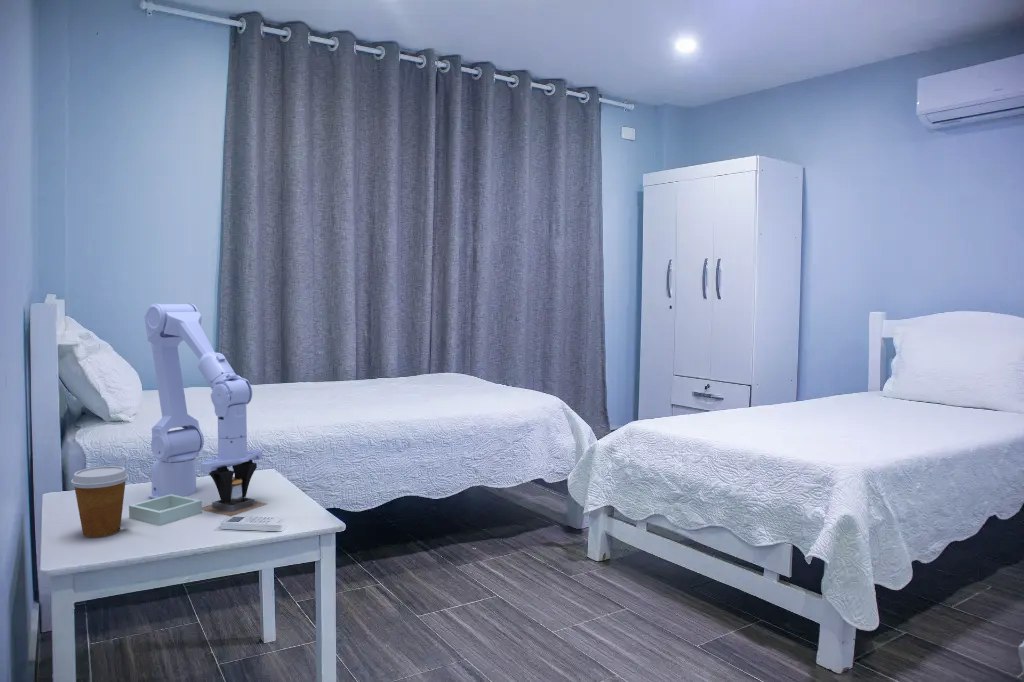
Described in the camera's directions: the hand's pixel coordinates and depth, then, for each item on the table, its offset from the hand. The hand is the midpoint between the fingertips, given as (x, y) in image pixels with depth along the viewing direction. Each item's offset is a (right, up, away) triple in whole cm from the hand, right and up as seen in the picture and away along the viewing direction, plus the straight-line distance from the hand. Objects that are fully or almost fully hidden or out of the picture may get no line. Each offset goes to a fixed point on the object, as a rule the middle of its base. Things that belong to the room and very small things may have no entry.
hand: (233, 498), depth 152 cm
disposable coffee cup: (-20, -4, -14) cm, 25 cm away
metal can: (0, -2, 0) cm, 2 cm away
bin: (-11, -3, -6) cm, 13 cm away
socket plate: (0, -3, 0) cm, 3 cm away
